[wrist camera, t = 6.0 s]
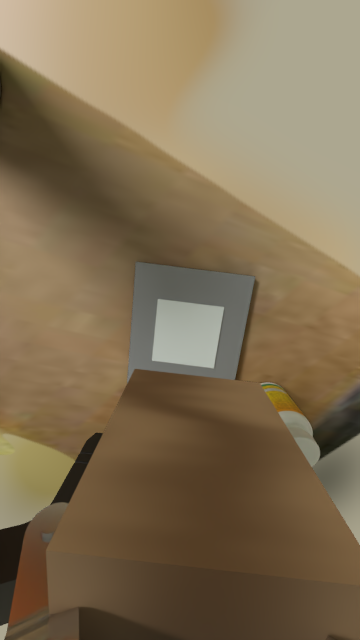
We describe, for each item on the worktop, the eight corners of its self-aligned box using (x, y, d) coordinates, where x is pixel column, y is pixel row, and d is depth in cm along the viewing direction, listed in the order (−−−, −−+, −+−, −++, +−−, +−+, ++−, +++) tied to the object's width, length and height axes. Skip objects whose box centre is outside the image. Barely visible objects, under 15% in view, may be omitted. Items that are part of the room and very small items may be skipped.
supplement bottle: (292, 403, 31) (338, 463, 22) (258, 421, 32) (287, 486, 22) (274, 373, 30) (313, 422, 21) (239, 392, 31) (261, 447, 21)
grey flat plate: (129, 380, 31) (126, 385, 30) (137, 261, 27) (135, 261, 26) (229, 393, 31) (231, 398, 30) (252, 276, 27) (255, 276, 26)
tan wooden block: (128, 469, 12) (55, 727, 5) (134, 368, 11) (46, 550, 4) (237, 481, 12) (303, 755, 5) (259, 382, 11) (386, 588, 4)
